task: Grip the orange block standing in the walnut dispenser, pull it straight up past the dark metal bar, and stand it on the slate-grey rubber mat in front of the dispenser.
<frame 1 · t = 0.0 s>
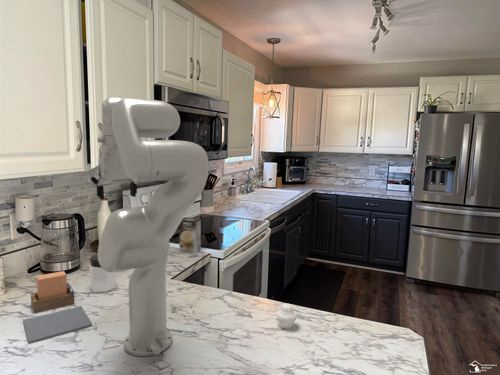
hand: (117, 197, 110), 37 cm above the countertop, tool pointing down, fingers open, 9 cm apart
orange block: (52, 304, 117), resting in dispenser
coffee box: (190, 250, 177), on the countertop
mat: (57, 323, 104), on the countertop
dispenser: (52, 304, 117), on the countertop
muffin: (286, 326, 106), on the countertop
jar: (103, 288, 130), on the countertop
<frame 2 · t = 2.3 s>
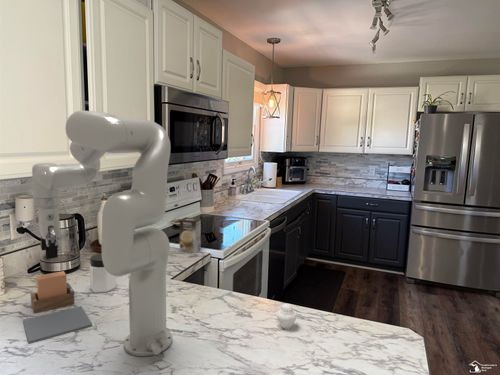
hand: (49, 253, 115), 17 cm above the countertop, tool pointing down, fingers open, 9 cm apart
nothing on the countertop moved.
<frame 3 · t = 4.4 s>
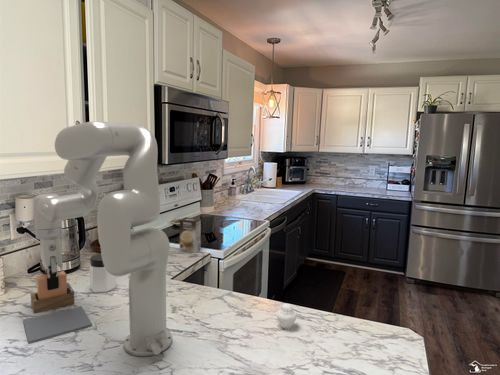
hand: (51, 285, 116), 6 cm above the countertop, tool pointing down, fingers closed on orange block, 4 cm apart
orange block: (53, 304, 117), resting in dispenser, touching gripper
everything else where it was.
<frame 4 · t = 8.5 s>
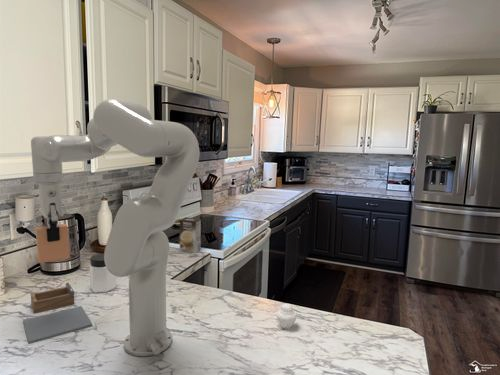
hand: (52, 238, 106), 25 cm above the countertop, tool pointing down, fingers closed on orange block, 4 cm apart
orange block: (53, 258, 107), point 18 cm above the countertop, touching gripper
everything else where it was.
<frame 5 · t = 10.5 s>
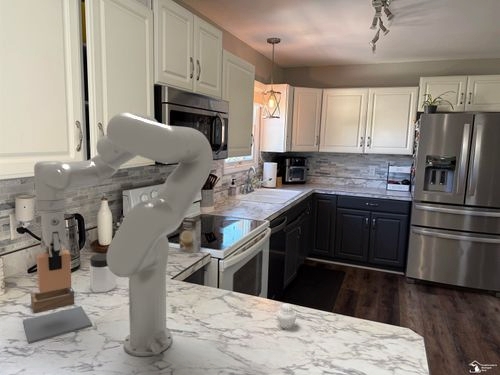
hand: (54, 266, 102), 18 cm above the countertop, tool pointing down, fingers closed on orange block, 4 cm apart
orange block: (54, 287, 103), point 11 cm above the countertop, touching gripper
everything else where it was.
when the fingers open (8 cm above the countertop, at t = 12.9 s): orange block drops 1 cm, resting on mat.
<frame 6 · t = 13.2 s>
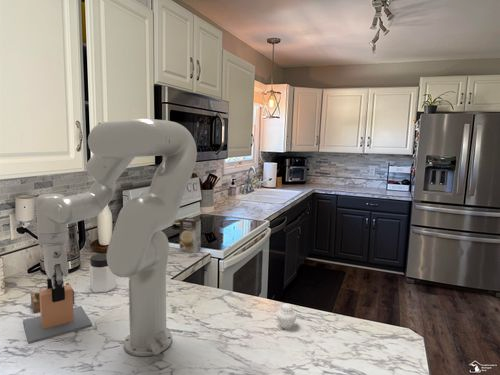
hand: (56, 295, 103), 9 cm above the countertop, tool pointing down, fingers open, 7 cm apart
orange block: (57, 322, 104), point 1 cm above the countertop, touching mat
everything else where it was.
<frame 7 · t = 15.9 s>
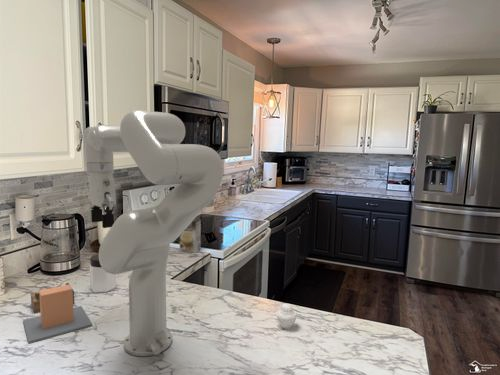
hand: (102, 224, 108), 29 cm above the countertop, tool pointing down, fingers open, 9 cm apart
nothing on the countertop moved.
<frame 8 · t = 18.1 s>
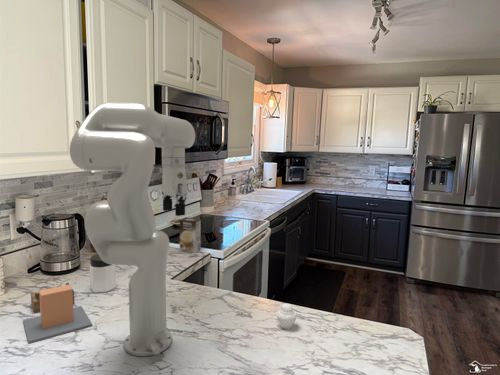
hand: (173, 212, 120), 30 cm above the countertop, tool pointing down, fingers open, 9 cm apart
nothing on the countertop moved.
at the end: orange block inside the target area on the mat (0.0 cm from its centre), point 0.6 cm above the mat's base; orange block tilted 0°; the gripper is holding nothing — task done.
